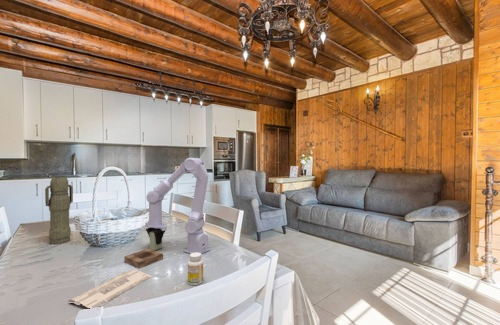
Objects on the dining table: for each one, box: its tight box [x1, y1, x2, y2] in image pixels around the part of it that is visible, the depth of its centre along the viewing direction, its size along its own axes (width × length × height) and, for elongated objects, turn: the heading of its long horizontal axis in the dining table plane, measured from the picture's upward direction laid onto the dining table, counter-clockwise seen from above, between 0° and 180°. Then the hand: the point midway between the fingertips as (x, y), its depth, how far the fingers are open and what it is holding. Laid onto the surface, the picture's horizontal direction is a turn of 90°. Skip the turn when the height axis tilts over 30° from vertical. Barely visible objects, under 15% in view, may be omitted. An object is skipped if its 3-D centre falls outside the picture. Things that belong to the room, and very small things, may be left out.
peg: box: [149, 231, 163, 251], centre depth 115 cm, size 4×4×8 cm
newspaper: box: [68, 269, 152, 309], centre depth 79 cm, size 23×12×2 cm, turn 157°
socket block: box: [124, 247, 164, 270], centre depth 102 cm, size 11×11×2 cm
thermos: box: [44, 175, 74, 245], centre depth 127 cm, size 9×12×35 cm
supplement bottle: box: [187, 252, 204, 286], centre depth 83 cm, size 5×5×10 cm
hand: (155, 243), depth 115 cm, fingers closed on peg, 4 cm apart
